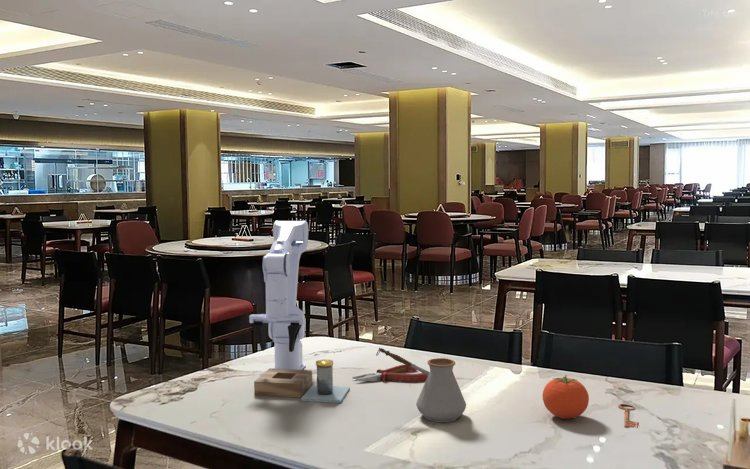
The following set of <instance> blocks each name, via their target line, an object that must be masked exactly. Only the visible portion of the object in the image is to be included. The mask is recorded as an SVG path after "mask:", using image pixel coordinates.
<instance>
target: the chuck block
mask: <svg viewBox="0 0 750 469" xmlns="http://www.w3.org/2000/svg"><path fill="white" fill-rule="evenodd" d="M253 384H254V385H253V388H254V389H253V393H254V395H255V396H266V397H268V396H269V397H283V398H284V397H287V398H302V397H303V396H304V395H303V394H305V393H306V392H307V391H308V390H309V389H310V388H309V387H311V386H312V385H313V370H311V369H309V370H308V369H302V370H294V369H274V368H267V370H265V371H264V372H263V373H262V374H261V375H259V376H258V378H256V379H255V380H254V382H253Z"/></svg>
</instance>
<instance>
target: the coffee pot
mask: <svg viewBox="0 0 750 469" xmlns="http://www.w3.org/2000/svg"><path fill="white" fill-rule="evenodd" d="M380 353H382V354H385V356H387V357H388V356H389V357H390V358H391V359H393V360H394V361H397V362H398V363H401V364H402V365H408V366H410V367H412V368H414V369H416V371H418V372H420V373H424V374H425V375H427V376H428V377H427V379H426V381H424V384H423V386H422V389H421V391H420V393H419V395H418V398H417V400H416V403H415V405H416V408H417V410H418V411H419V414H421V415H422V416H424V418H425V419H426V420H428V421H432V422H437V423H450V422H454V421H456V420H457V419H459V418H458V417H461V415H462V414H464V412H465V410H466V408H467V403H466V400H465V397H464V396H463V393H462V391H461V388H460V386H459V383H458V381H457V379H456V376H455V374H454V371H453V369H454V366H456V361H455V360H454V359H451V358H446V357H441V358H431V359H429V360H427V365H428V366H429V371H428V370H426V369H424V368H422V367H420V366H418V365H416V364H415V365H414V363H412V362H410V361H409V360H407V359H406V358H403V357H402V356H400V355H398V354H396V353H392V352H390V350H386V349H384V348H382V347H379V348H378V349H377V352H376V354H375V356H379V354H380Z"/></svg>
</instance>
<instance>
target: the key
mask: <svg viewBox="0 0 750 469" xmlns="http://www.w3.org/2000/svg"><path fill="white" fill-rule="evenodd" d="M618 408H619V409H621V410H624V422H623V423H624V424H623V426H624V427H623V428H626V429H628V428H634V427H635V429H639V428H638V426H640V425H639V423H640V422H636V421H634V420H629V419H630V418H629V417H630V416H629V415H630V411H635V410H636V407H634V406H632V405H631V404H625V403H620V404H618Z"/></svg>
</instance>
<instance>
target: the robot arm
mask: <svg viewBox="0 0 750 469" xmlns="http://www.w3.org/2000/svg"><path fill="white" fill-rule="evenodd" d="M272 226H273V227H272V237H273V241H274V242H272V245H271V247H270V250H269V251H268V253H267V254H266V255H264V256H263V257H262V272H263V282H264V283H265V313H260V314H259V313H257V314H253V313H252V314H250V315H249V316H248V318H249V323H250V324H252V326H251V327H252V330H253V332H254V333H255V336H256V338H257V339H258V340H257V341H258V343H259V346H260V347H259V348H260V351H261V352H262V351H263V352H264V351H265V350H266V349H267V329H268V337H269V338H270V339H271V340H272V342H273V343H274V368H273V369H294V370H304V368H305V367H307V366H306V364H305V363H304V362H303V343H302V341H301V340H302V339H303V338H305V334H306V316H305V314H304V312H303V310H302V309H300V308H299V307H297V295H298V283H299V282H298V280H299V268H300V267H299V266H300V259H301V256H302V254H303V253H304V252H306V251H307V248H308V246H309V244H308V243H309V223H308V222H307V220H275V221H274V222H273V225H272ZM267 326H268V328H267Z"/></svg>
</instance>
